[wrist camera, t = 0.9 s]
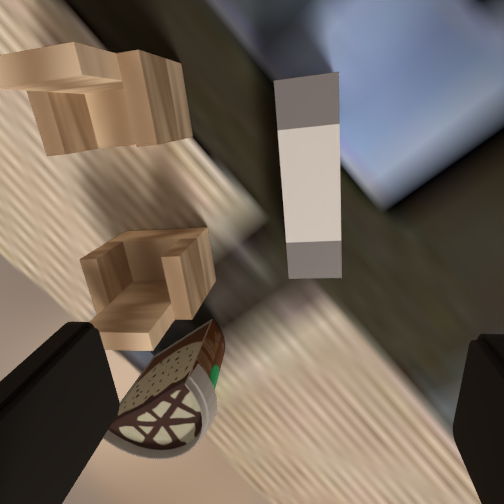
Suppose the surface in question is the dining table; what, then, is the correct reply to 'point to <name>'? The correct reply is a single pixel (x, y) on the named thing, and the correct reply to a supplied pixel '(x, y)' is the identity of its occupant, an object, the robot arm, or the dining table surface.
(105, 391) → the robot arm
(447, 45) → the dining table surface
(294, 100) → the bed rail
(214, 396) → the food container
